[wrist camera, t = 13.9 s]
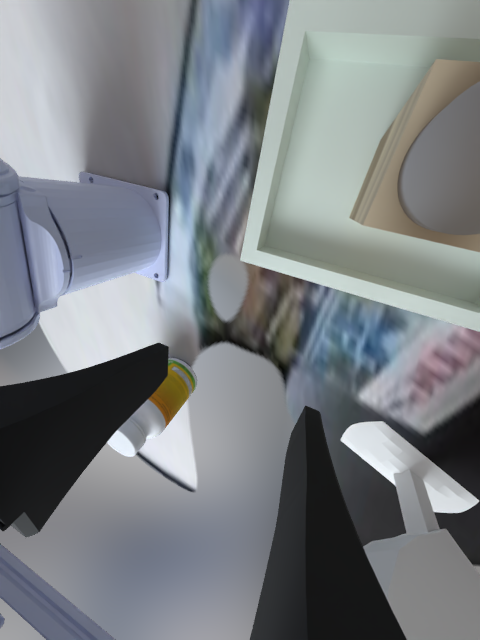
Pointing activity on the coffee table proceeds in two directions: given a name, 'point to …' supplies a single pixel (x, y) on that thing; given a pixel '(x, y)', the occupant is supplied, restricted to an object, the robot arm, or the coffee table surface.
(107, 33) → the coffee table surface
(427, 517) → the heart sculpture
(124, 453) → the supplement bottle
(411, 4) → the tray
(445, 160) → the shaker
